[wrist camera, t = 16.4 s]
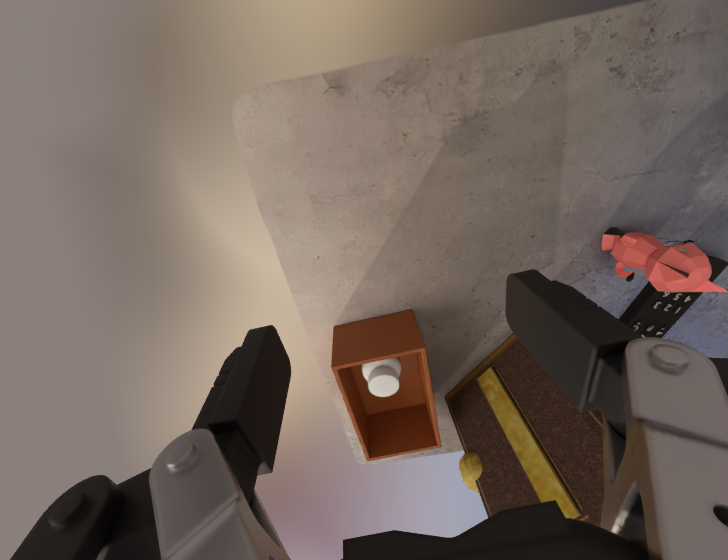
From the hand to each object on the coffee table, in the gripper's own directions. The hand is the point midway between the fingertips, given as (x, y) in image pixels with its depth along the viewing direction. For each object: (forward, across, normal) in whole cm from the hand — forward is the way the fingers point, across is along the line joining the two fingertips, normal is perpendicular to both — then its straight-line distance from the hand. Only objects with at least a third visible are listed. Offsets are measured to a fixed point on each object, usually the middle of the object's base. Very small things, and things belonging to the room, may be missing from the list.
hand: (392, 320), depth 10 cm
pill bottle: (+28, +2, +24) cm, 36 cm away
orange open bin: (+28, +2, +31) cm, 42 cm away
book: (+28, -16, +38) cm, 49 cm away
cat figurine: (+28, -34, +16) cm, 47 cm away
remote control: (+28, -39, +35) cm, 59 cm away
